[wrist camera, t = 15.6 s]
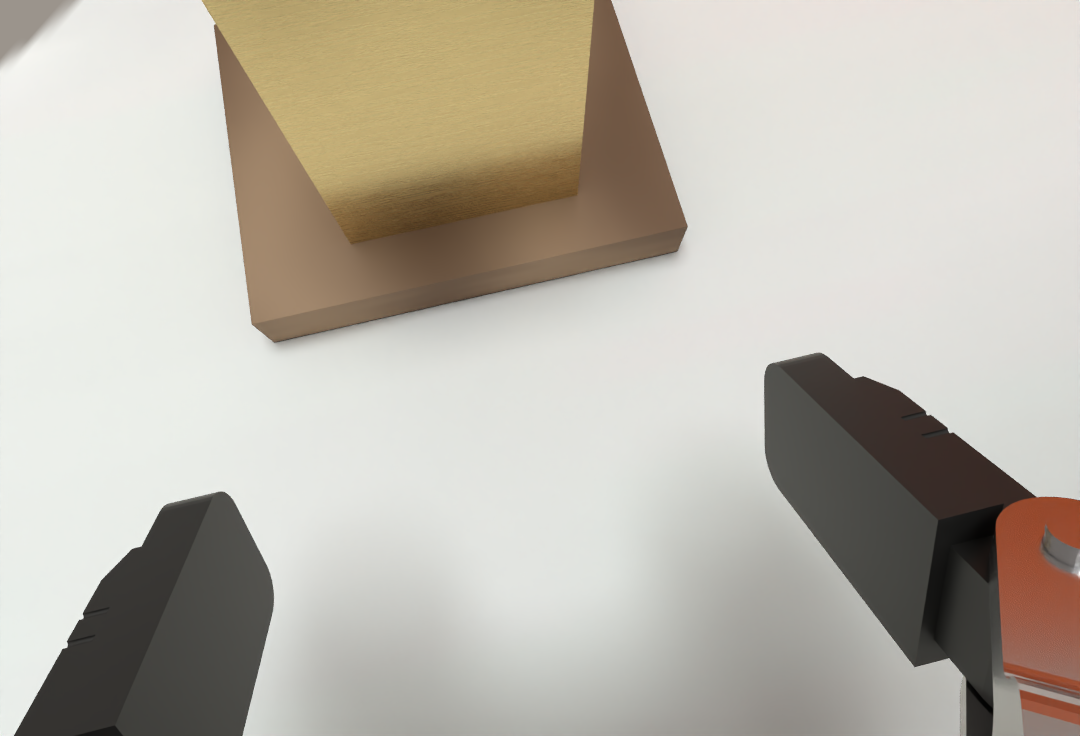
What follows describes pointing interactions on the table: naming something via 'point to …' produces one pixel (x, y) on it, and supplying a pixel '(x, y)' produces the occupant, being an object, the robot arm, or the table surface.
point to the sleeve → (421, 101)
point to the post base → (454, 248)
